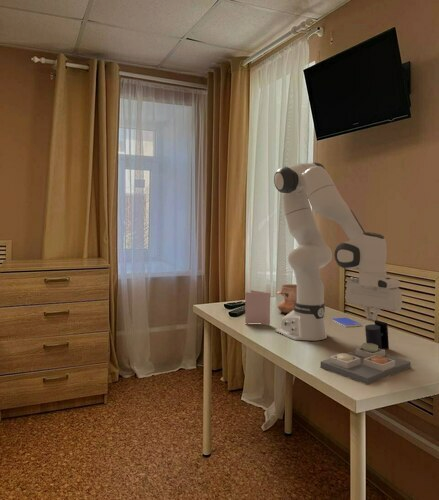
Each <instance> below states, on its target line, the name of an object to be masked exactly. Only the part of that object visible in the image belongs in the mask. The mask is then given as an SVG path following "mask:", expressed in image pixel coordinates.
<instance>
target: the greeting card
mask: <svg viewBox="0 0 439 500" xmlns="http://www.w3.org/2000/svg"><path fill="white" fill-rule="evenodd" d="M244 293H245V299H244V301H245V308H244V312H245V314H244V316H245V317H244V318H245V320H244V322H245V323H261V324H270V325H271V293H270V292H264V291H258V290H250V292H244ZM245 323H244V324H245Z"/></svg>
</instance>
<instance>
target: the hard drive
mask: <svg viewBox="0 0 439 500" xmlns="http://www.w3.org/2000/svg"><path fill="white" fill-rule="evenodd" d="M331 320H333V321H332V322H334V321H335V322H334V323H336V322H337V324H338V323H339V324H338V325H340V324H341V325H340V326H342V325H343V327H345V328H352V327H362V323H361V322H358V321H355V320H353V319H351V318H349V317H337V318H334V317H333V318H332V319H331Z"/></svg>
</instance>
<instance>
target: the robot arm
mask: <svg viewBox="0 0 439 500" xmlns="http://www.w3.org/2000/svg"><path fill="white" fill-rule="evenodd" d="M273 184H274V187H275V189H276V190H277V191H278V192H279V193H281V194H282V196H281V197H282V206H283V211H284V216H285V219H286V224H287V226H288V229H289V233H290V235H291V236H292V237H294V239H295V241H296V242H297V244H298V245H297V246H295V247H294V248H292V249H291V250H289V251H290V252H289V254H288V257H287V259H288V264H289V266H290V267H291V268H292V271H293V273H294V276H295V277H294V278H295V282H296V283H295V284H296V285H297V302H296V303H292V304H294V305H292V306H294V309H293V311H291V312H290V313H289V314H286V315H284V316H283V317H282V319H281V323H280V326H277V327H276V328H275V332H276V333H278V332H279V334H280V333H281V334H280V335H282V334H283V336H285V337H287V338H289V339H292V340H295V341H321V340H322V341H323V340H325V339H327V338H328V335H327V331H326V325H325V316H324V315H325V311H326V309H325V307H326V306H325V304H326V303H324V302H325V285H324V283H323V281H322V279H321V275H320V269H322V268H325V267H326V266H327V265H328V264H329V263H330V262H331V261H332V258H333V256H334V260H335V262H336V264H337V265H338V266H339V267H340V268H343V269H358V277H352V276H351V277H349V278H348V279H347V281H346V288H345V296H344V300H345V302H346V303H348V304H352V305H358V306H363V311H364V312H365V314H366V320H371V321H374V322H375V320H376V321H378V314H379V313H380V311H381V310H386V311H390V312H398V311H400V310H401V309H402V307H403V294H402V291H401V289H400V287H401V281H400V280H398V279H396V278H393V277H392V276H390V275H388V274H387V267H386V263H387V258H388V254H387V253H388V252H387V251H388V250H387V241H386V239H385V236H384V235H382V234H381V233H380V234H379V233H377V232H369V231H367V232H366V231H365V230H364V228H363V227H362V225H361V223H360V222H359V220H358V218H357V217H356V215H355V213H354V212H353V210H352V209H351V208H350V206H349V205H348V204H347V202H346V201H345V200H344V199H343V197H342V195H341V193H340V192H339V190H338V189H337V188H338V187H337V186H336V184H335V183H334V180H333V178H332V177H331V176H330V174H329V173H328V171H327V170H326V168H325V166H324V165H323V164H322V163H319V162H303V163H296V164H293V165H289V166H283V167H280V168H278V169H277V170H276V171H275V172H274V177H273ZM313 210H314V211H315V213H316V214H317V215H318V216H321V217H324V218H326V219H329V220H330V221H334V222H335V223H337V224H338V225H339V226H340V227H341V228H342V230H343V231H344V234H345V235H346V236H347V238H348V241H345V242H341V243H339V244H338V245H337V246H336V247H335V249H334V252H333V251H332V250H331V247H329V246H328V245H327V244H326V242H325V240H324V238H323V236H322V235H321V233H320V232H321V231H320V230H319V228H318V226H317V224H316V223H317V222H316V221H315V217H314V216H315V215H314V213H313ZM332 252H333V253H334V255H333V253H332ZM370 309H372V311H373V313H372V311H371V310H370Z"/></svg>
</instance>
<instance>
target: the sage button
mask: <svg viewBox="0 0 439 500" xmlns="http://www.w3.org/2000/svg"><path fill="white" fill-rule="evenodd" d="M362 347H363V351H367V352H370V353H375V352H378V345H376V344H372V343H365V342H364V343H363V344H362Z"/></svg>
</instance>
